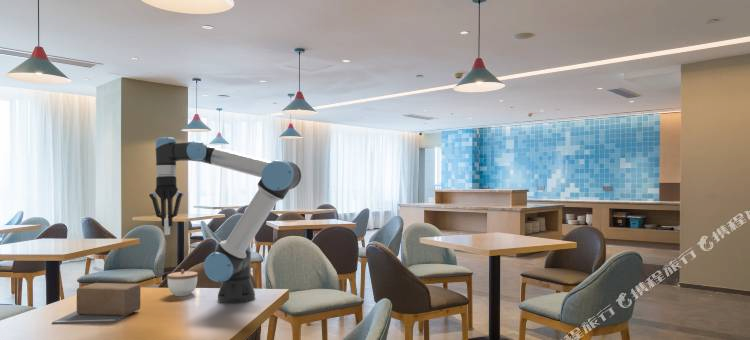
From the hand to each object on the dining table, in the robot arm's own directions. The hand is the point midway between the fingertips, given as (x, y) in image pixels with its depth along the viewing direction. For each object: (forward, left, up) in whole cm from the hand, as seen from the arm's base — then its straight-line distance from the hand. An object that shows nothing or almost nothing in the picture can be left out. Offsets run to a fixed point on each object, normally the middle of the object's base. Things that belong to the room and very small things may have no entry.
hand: (167, 234), depth 200 cm
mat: (+21, +14, -29) cm, 38 cm away
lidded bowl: (+1, -21, -29) cm, 36 cm away
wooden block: (+8, +13, -23) cm, 27 cm away
